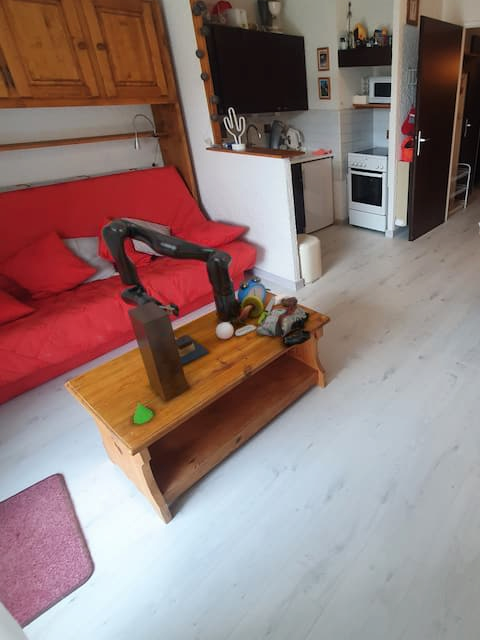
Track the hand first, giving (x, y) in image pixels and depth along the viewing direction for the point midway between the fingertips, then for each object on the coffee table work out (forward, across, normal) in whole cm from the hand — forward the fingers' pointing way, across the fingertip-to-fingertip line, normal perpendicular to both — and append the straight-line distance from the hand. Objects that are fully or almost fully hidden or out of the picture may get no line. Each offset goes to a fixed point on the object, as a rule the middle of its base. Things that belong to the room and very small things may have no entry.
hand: (167, 319), depth 157 cm
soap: (+15, +25, +10) cm, 31 cm away
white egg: (+17, +16, +7) cm, 24 cm away
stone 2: (+13, +55, +12) cm, 58 cm away
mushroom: (+13, +25, +4) cm, 28 cm away
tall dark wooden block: (+26, -14, +12) cm, 32 cm away
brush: (+4, 0, +11) cm, 12 cm away
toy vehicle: (+8, +53, +11) cm, 55 cm away
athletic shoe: (+28, +37, +2) cm, 46 cm away
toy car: (+39, +34, +8) cm, 53 cm away
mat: (+8, 0, +12) cm, 15 cm away
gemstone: (+32, -26, +12) cm, 43 cm away
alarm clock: (0, +41, +12) cm, 43 cm away
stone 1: (+25, +40, +10) cm, 48 cm away
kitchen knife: (+12, +42, +11) cm, 45 cm away
